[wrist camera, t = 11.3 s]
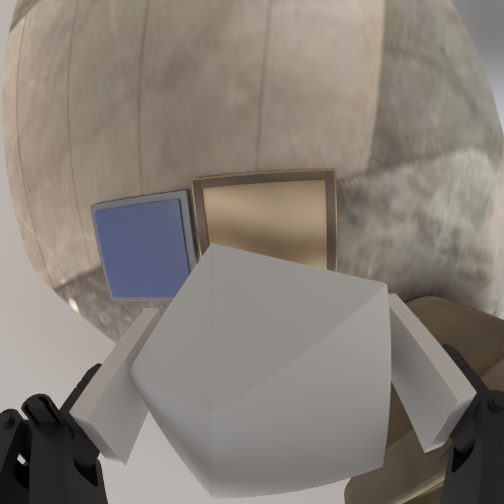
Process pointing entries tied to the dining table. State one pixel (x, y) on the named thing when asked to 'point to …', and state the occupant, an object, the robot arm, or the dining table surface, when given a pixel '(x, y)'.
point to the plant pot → (399, 426)
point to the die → (270, 374)
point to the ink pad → (146, 245)
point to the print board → (270, 214)
